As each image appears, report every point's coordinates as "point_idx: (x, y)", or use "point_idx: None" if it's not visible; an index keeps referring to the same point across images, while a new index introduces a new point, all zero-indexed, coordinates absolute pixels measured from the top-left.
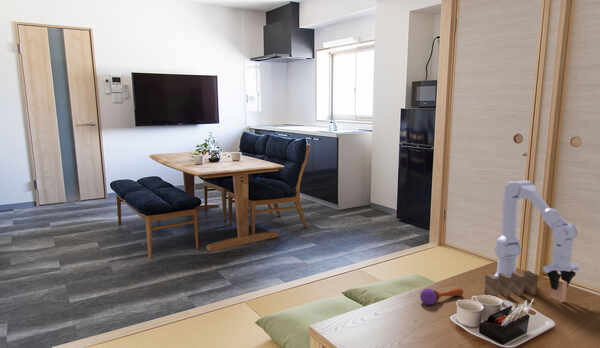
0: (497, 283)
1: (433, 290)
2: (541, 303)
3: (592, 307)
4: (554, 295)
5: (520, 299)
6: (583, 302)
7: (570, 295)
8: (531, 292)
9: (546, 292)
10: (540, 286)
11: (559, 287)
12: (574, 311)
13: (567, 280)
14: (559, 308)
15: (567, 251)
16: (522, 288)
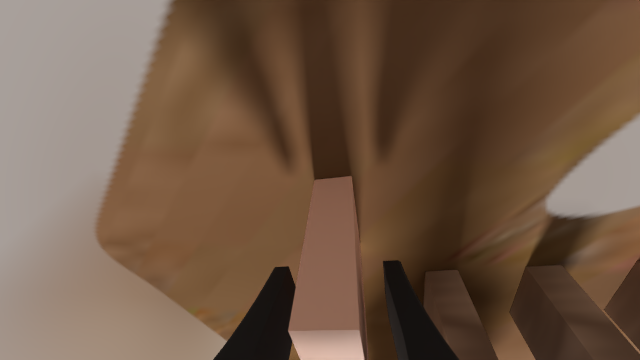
0: None
1: None
2: (520, 165)
3: (157, 85)
4: (358, 238)
5: (612, 226)
6: (190, 165)
7: (227, 247)
8: (462, 283)
9: None
10: None
11: (359, 279)
12: (361, 3)
13: (258, 355)
14: (454, 73)
15: None
16: (571, 312)
